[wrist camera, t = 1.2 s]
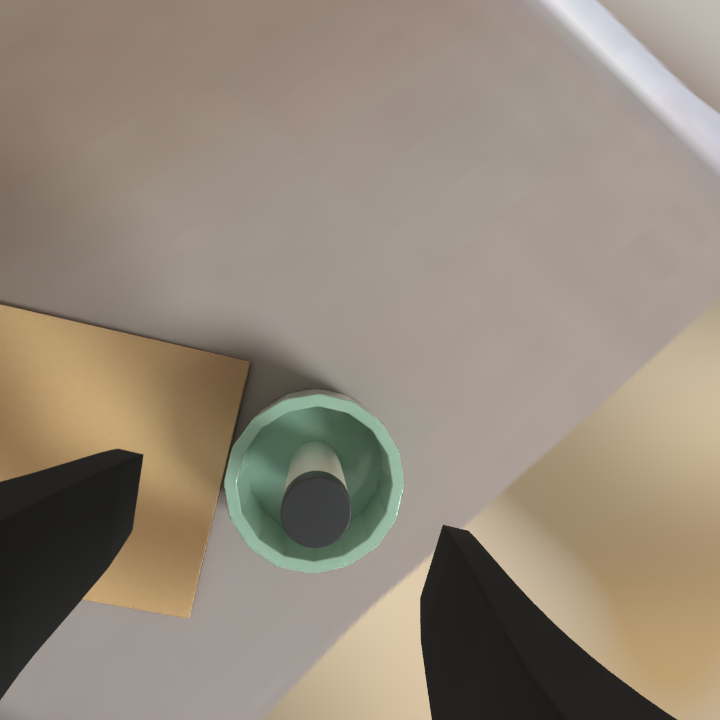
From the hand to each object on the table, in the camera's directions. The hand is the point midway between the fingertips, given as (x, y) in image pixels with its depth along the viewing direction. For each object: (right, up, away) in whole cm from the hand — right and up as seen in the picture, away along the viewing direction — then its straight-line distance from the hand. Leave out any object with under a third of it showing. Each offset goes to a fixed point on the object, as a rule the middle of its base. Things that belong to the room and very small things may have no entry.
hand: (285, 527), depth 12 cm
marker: (0, -1, +11) cm, 11 cm away
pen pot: (0, -1, +12) cm, 12 cm away
